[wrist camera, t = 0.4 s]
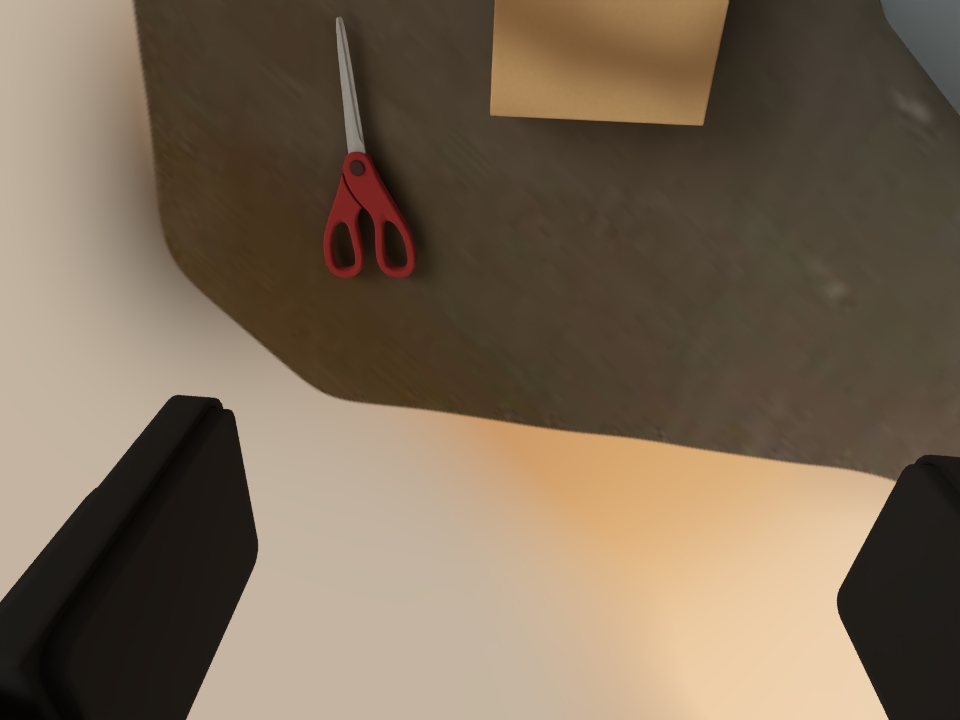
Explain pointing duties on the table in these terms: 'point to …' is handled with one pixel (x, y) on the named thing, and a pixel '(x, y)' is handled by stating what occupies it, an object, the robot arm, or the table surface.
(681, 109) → the desk stand
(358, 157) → the scissors
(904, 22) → the brown blue rounded box
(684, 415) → the table surface
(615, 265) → the table surface
